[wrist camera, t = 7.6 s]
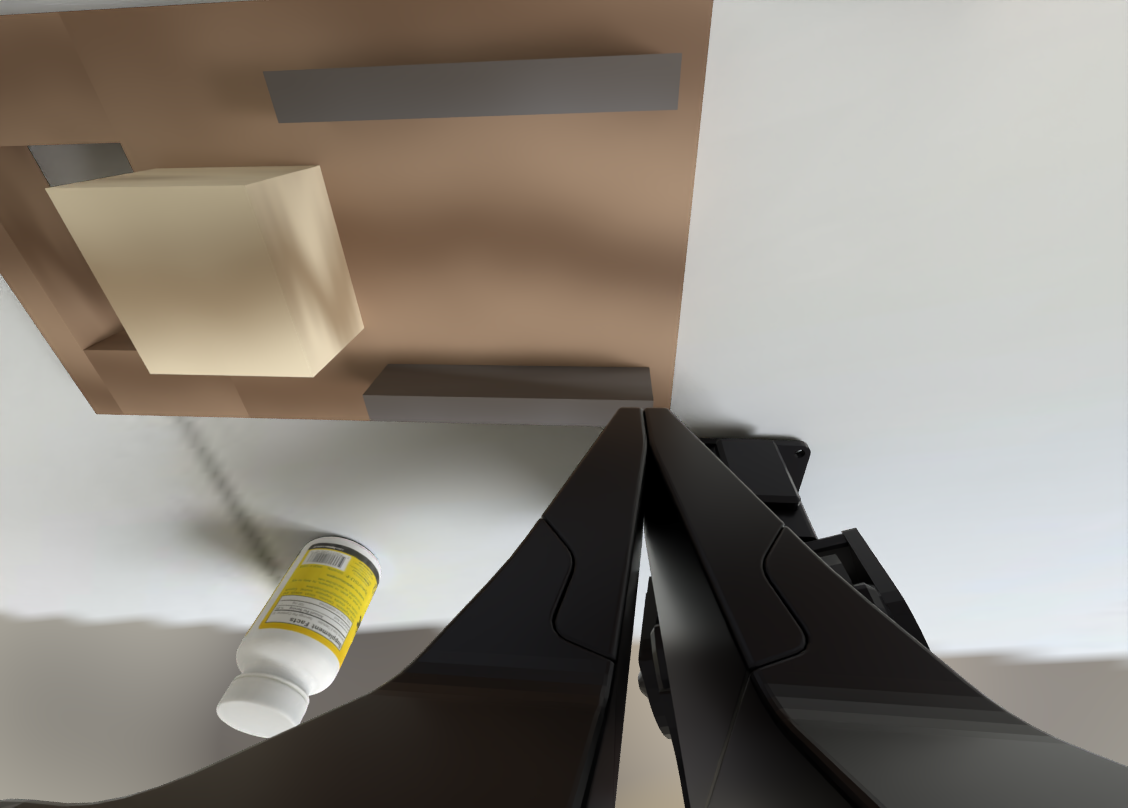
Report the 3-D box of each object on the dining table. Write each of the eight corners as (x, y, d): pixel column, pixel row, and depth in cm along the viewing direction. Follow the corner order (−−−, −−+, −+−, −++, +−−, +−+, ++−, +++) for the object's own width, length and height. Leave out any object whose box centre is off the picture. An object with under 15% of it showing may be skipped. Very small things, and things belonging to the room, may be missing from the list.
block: (364, 328, 20) (313, 377, 16) (226, 326, 20) (150, 373, 17) (319, 165, 16) (244, 185, 13) (156, 168, 17) (44, 188, 14)
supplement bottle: (346, 594, 34) (263, 752, 26) (287, 549, 32) (176, 706, 24) (401, 573, 33) (330, 735, 24) (342, 523, 30) (242, 683, 22)
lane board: (663, 397, 23) (673, 465, 19) (138, 387, 26) (46, 445, 21) (701, -11, 15) (735, -49, 11) (-75, 32, 17) (-292, 15, 13)
